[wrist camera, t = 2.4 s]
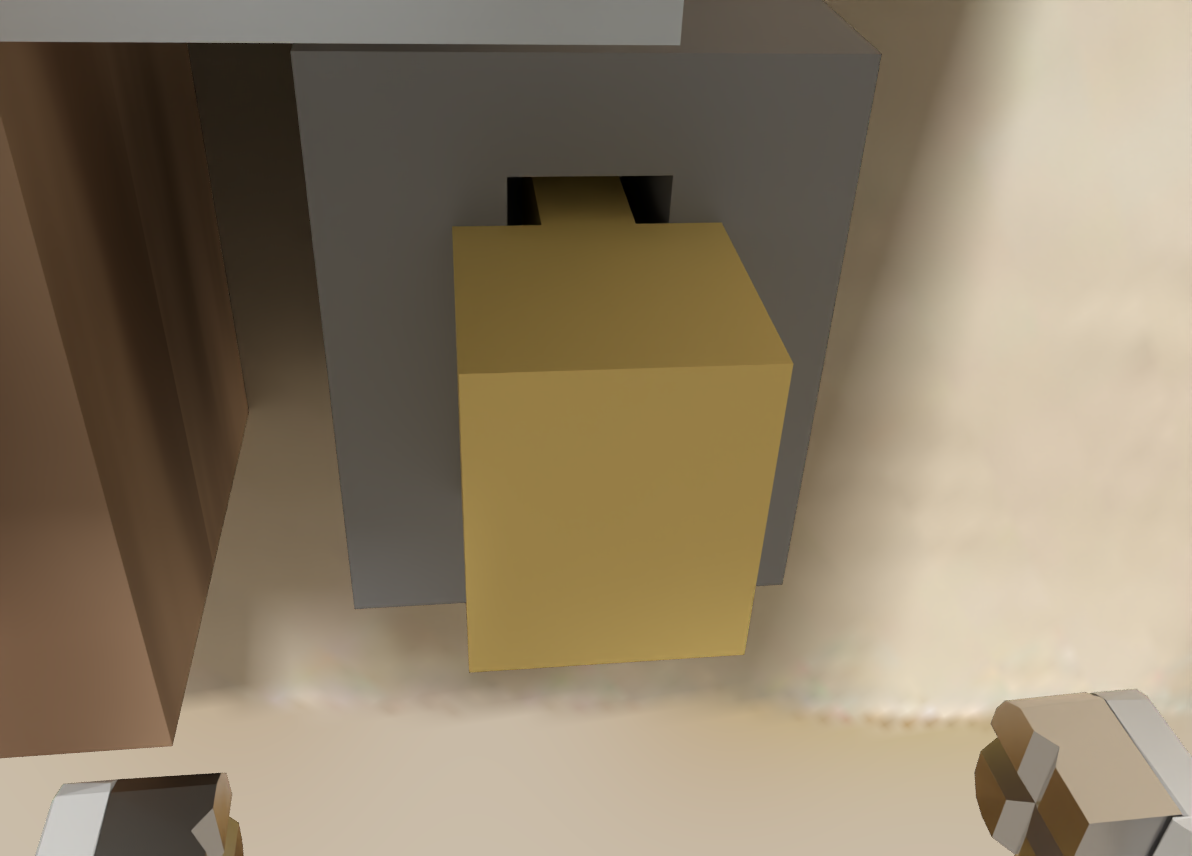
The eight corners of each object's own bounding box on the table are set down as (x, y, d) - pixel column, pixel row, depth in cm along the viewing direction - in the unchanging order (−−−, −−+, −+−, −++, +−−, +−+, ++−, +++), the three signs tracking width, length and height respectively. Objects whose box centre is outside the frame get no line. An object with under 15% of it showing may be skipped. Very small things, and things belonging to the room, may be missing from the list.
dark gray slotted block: (746, -69, 22) (882, 54, 15) (698, 363, 28) (782, 584, 21) (332, -76, 21) (290, 51, 14) (372, 372, 27) (354, 609, 20)
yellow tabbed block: (673, 127, 20) (792, 364, 13) (653, 365, 23) (744, 655, 16) (447, 128, 19) (458, 374, 13) (456, 371, 22) (468, 672, 16)
